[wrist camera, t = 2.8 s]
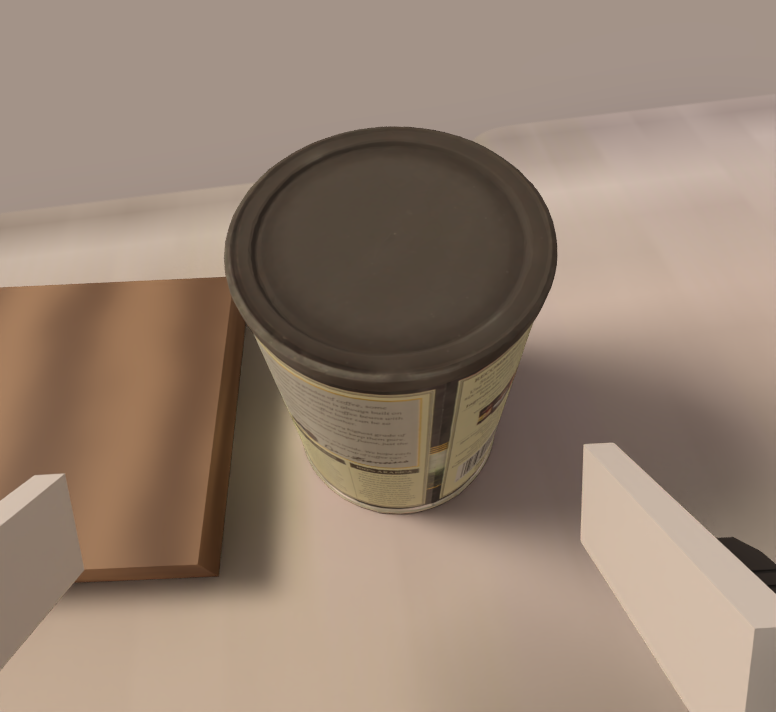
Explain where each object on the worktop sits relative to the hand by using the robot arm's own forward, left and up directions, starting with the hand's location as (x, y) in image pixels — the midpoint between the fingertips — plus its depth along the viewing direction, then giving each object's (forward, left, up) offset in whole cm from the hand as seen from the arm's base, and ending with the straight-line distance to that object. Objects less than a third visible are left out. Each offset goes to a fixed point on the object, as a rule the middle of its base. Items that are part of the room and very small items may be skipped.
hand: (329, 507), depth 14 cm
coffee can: (-2, -8, -13) cm, 16 cm away
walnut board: (+14, -8, -13) cm, 21 cm away
